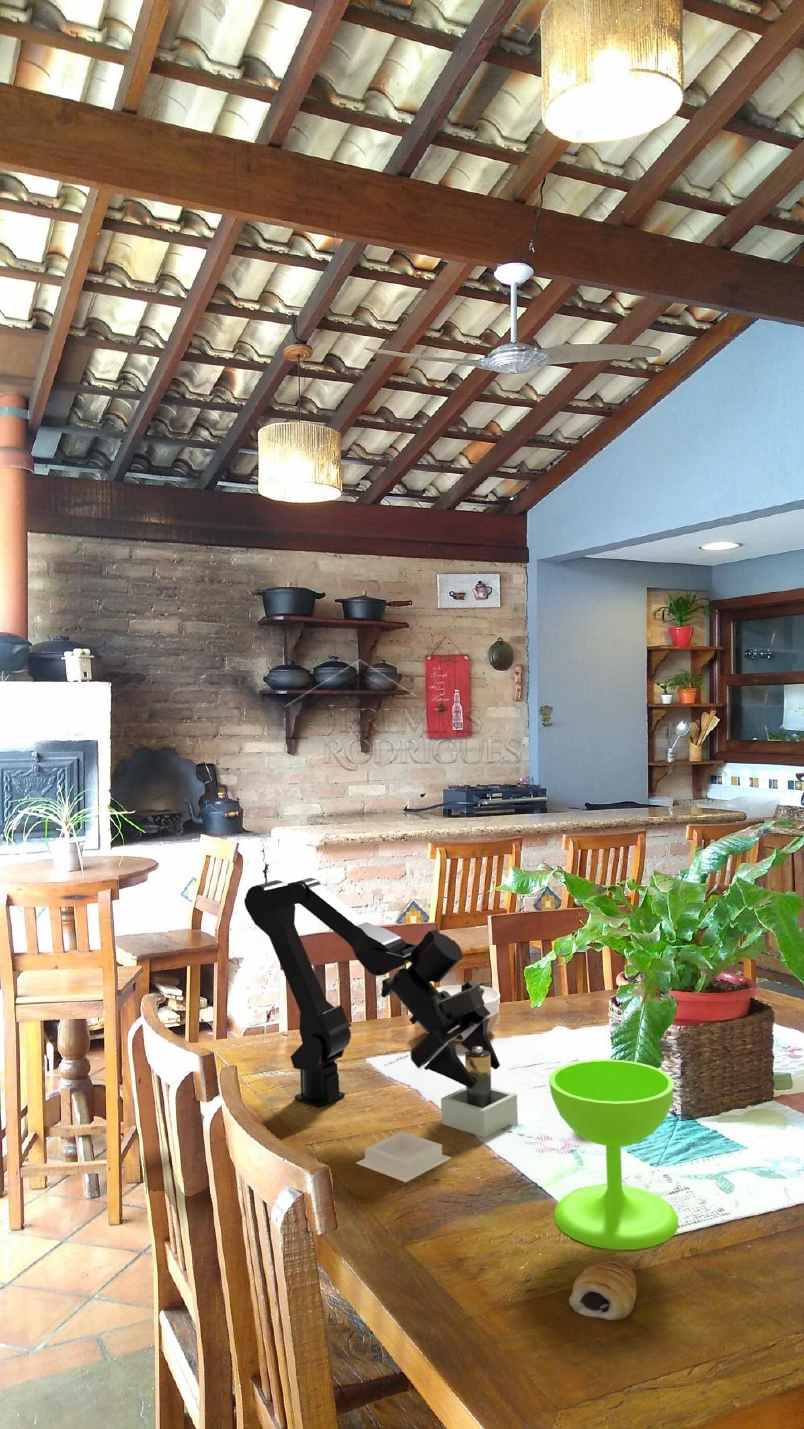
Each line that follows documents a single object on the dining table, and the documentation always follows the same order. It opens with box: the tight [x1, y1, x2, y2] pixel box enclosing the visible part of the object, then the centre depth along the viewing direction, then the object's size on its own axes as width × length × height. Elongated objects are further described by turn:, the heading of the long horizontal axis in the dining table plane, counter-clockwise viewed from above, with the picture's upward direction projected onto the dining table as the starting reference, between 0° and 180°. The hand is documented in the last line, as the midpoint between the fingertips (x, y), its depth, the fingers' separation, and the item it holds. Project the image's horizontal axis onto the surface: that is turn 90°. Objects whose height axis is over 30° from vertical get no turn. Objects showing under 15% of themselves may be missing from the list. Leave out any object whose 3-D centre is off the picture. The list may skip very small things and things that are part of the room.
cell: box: [464, 1046, 492, 1108], centre depth 166 cm, size 4×4×12 cm
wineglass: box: [548, 1059, 680, 1251], centre depth 136 cm, size 16×16×18 cm
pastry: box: [568, 1260, 638, 1321], centre depth 117 cm, size 9×7×4 cm
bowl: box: [435, 984, 501, 1042], centre depth 215 cm, size 16×16×8 cm
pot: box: [440, 1086, 519, 1138], centre depth 166 cm, size 9×9×5 cm
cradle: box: [355, 1130, 452, 1183], centre depth 153 cm, size 10×10×3 cm
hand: (486, 1076), depth 165 cm, fingers open, 9 cm apart
